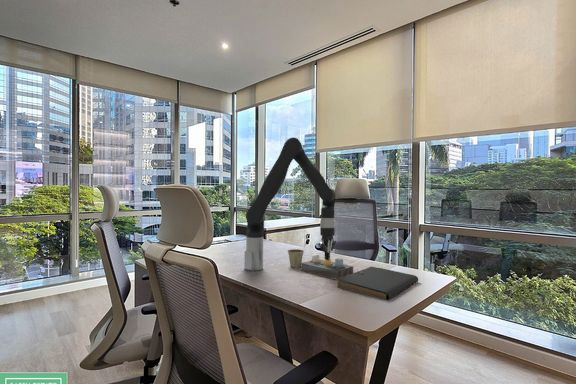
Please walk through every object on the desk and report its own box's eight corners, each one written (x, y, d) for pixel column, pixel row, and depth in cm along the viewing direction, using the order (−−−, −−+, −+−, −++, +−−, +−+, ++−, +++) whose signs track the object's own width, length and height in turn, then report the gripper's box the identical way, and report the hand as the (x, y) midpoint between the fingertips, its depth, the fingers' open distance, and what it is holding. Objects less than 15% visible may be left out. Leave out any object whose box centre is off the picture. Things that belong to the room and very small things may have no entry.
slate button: (340, 270, 149) (340, 260, 149) (333, 269, 152) (333, 259, 152) (344, 269, 152) (344, 259, 152) (337, 267, 155) (338, 258, 155)
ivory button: (316, 265, 160) (316, 255, 160) (310, 263, 162) (310, 254, 162) (320, 264, 162) (320, 254, 162) (314, 262, 165) (314, 253, 165)
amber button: (327, 270, 154) (327, 260, 154) (321, 269, 157) (321, 259, 157) (332, 269, 157) (332, 259, 157) (326, 267, 160) (326, 258, 160)
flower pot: (284, 264, 172) (284, 249, 172) (299, 263, 176) (299, 248, 176) (291, 268, 163) (291, 253, 163) (306, 267, 167) (307, 251, 167)
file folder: (371, 265, 158) (418, 275, 142) (370, 273, 158) (418, 284, 142) (336, 278, 133) (389, 292, 117) (336, 287, 133) (388, 302, 117)
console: (337, 279, 144) (338, 271, 144) (301, 270, 160) (301, 263, 160) (353, 274, 155) (353, 266, 155) (317, 265, 170) (317, 258, 170)
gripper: (328, 224, 165) (328, 256, 165) (314, 226, 155) (313, 260, 155) (340, 226, 160) (340, 258, 160) (325, 228, 150) (325, 262, 150)
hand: (327, 259), depth 157 cm, fingers closed
